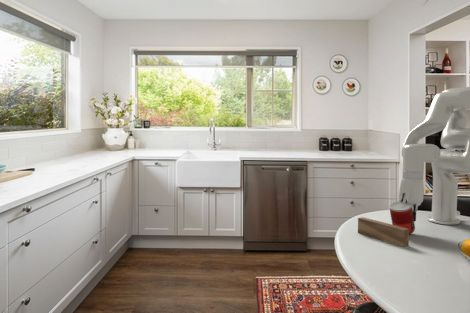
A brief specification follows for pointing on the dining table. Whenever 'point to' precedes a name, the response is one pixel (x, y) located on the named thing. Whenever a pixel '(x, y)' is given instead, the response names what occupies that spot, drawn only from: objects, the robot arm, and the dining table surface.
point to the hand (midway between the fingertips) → (410, 220)
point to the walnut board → (383, 231)
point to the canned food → (402, 215)
